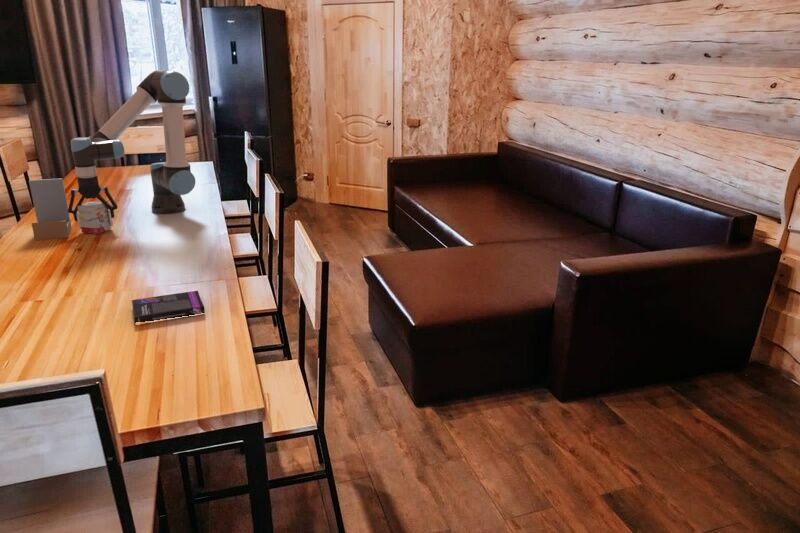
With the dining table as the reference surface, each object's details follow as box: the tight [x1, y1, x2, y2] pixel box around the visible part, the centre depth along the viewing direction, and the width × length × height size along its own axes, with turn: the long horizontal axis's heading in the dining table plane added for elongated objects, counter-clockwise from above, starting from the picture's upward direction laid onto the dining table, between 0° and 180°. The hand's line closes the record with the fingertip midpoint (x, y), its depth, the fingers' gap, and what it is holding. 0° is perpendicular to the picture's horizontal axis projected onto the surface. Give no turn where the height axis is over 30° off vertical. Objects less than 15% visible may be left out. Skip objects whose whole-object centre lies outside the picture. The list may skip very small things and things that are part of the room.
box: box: [131, 290, 206, 324], centre depth 175 cm, size 14×4×20 cm
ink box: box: [77, 200, 112, 235], centre depth 245 cm, size 9×9×12 cm
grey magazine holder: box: [28, 177, 73, 241], centre depth 238 cm, size 12×13×22 cm
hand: (96, 226), depth 247 cm, fingers closed on ink box, 11 cm apart
